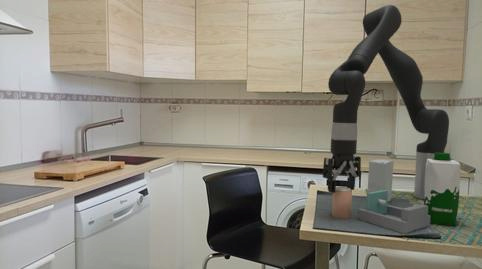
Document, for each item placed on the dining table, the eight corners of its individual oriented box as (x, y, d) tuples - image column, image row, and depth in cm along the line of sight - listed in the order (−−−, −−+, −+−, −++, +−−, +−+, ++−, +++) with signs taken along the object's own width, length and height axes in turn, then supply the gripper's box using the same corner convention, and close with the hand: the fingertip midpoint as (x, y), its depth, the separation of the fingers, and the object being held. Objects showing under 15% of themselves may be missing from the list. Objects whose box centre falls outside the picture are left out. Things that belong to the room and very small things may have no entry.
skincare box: (375, 197, 132) (377, 158, 131) (392, 201, 128) (394, 160, 127) (366, 201, 126) (367, 160, 125) (383, 205, 122) (385, 162, 121)
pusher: (383, 212, 110) (384, 189, 110) (392, 214, 108) (393, 191, 107) (365, 216, 106) (366, 193, 105) (375, 219, 103) (376, 195, 102)
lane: (382, 212, 113) (383, 194, 112) (430, 226, 100) (431, 205, 100) (357, 218, 106) (358, 199, 105) (404, 233, 93) (405, 211, 93)
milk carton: (453, 218, 108) (457, 153, 106) (459, 227, 99) (464, 156, 98) (421, 215, 111) (424, 151, 109) (424, 223, 102) (428, 154, 101)
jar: (340, 212, 112) (341, 185, 112) (354, 217, 108) (356, 189, 107) (328, 215, 109) (329, 187, 109) (342, 219, 105) (343, 191, 104)
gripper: (349, 136, 114) (347, 186, 115) (317, 137, 106) (315, 190, 107) (369, 138, 108) (366, 191, 109) (337, 139, 100) (334, 196, 101)
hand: (341, 191), depth 108 cm, fingers open, 8 cm apart
